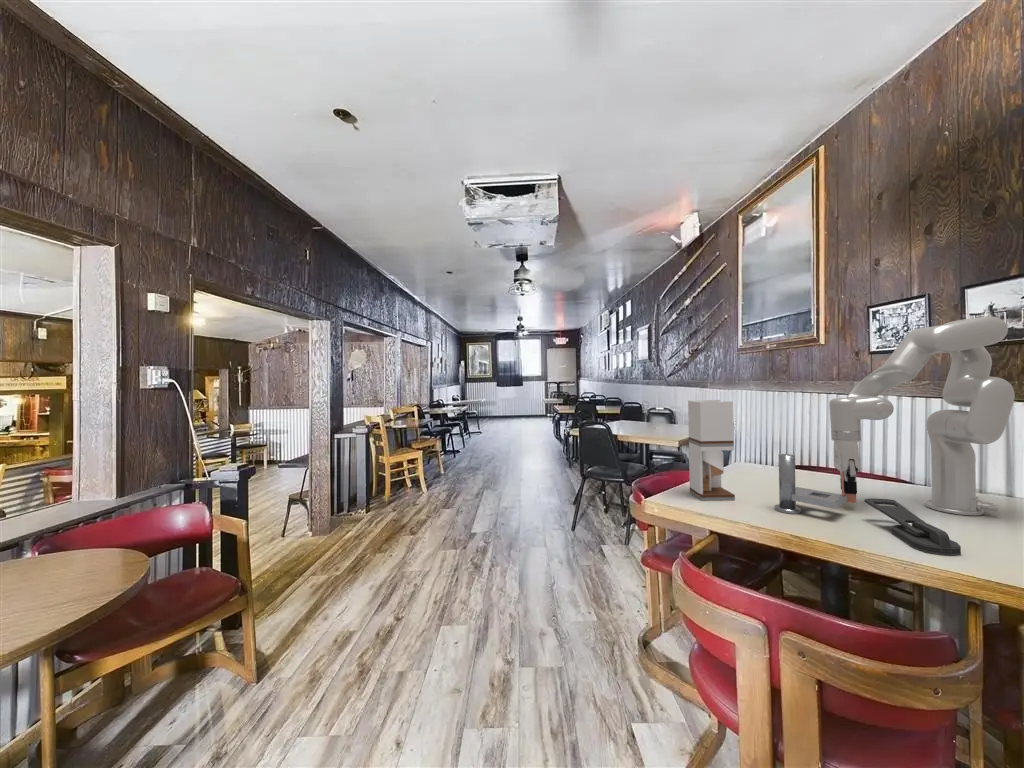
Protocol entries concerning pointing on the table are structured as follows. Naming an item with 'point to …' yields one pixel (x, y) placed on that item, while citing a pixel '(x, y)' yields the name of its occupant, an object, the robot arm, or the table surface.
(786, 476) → the rosette post
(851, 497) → the reddish brown rectangular block
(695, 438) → the white tower model
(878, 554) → the table surface
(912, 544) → the zipper pull
